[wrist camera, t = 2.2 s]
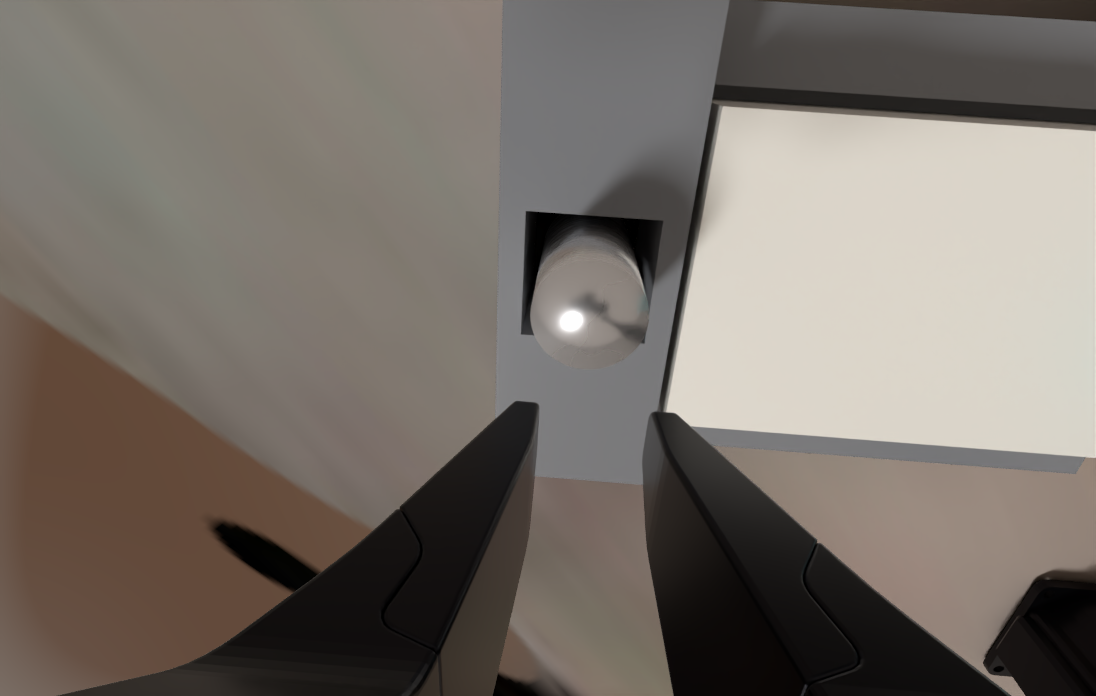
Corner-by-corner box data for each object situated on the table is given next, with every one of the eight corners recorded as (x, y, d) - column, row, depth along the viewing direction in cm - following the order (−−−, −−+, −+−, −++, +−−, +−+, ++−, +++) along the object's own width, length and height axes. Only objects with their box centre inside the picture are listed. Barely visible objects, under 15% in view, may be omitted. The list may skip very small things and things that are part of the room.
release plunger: (541, 285, 19) (527, 365, 14) (546, 201, 18) (532, 256, 13) (625, 291, 19) (640, 373, 14) (636, 207, 18) (657, 265, 13)
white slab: (651, 368, 21) (684, 516, 14) (695, 97, 17) (773, 122, 10) (1081, 400, 21) (1326, 568, 14) (1238, 133, 16) (1701, 185, 10)
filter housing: (510, 393, 23) (494, 472, 19) (524, -5, 17) (503, -28, 12) (1027, 433, 23) (1135, 524, 18) (1243, 40, 16) (1489, 33, 12)
